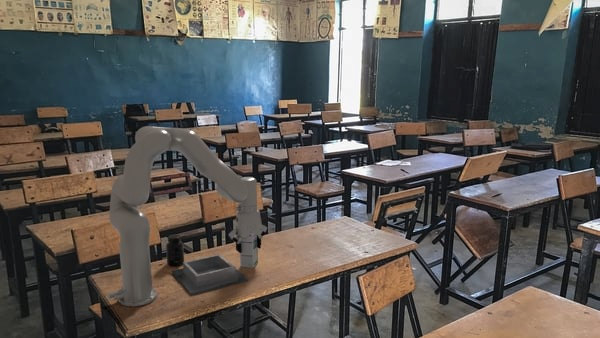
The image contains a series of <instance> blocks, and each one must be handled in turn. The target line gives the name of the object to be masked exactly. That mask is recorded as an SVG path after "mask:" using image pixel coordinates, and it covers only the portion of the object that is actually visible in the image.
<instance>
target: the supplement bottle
mask: <svg viewBox="0 0 600 338" xmlns="http://www.w3.org/2000/svg"><path fill="white" fill-rule="evenodd" d="M165 251H166V264H167V266H168V267H171V268H177V267H181V266H183V262H185V252H184V243H183V242H182V241H181V235H180V234H170V235H168V237H167V242H166V245H165Z"/></svg>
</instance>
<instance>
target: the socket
mask: <svg viewBox="0 0 600 338" xmlns="http://www.w3.org/2000/svg"><path fill="white" fill-rule="evenodd" d="M171 274H172V275H173V276H174V277H175V279H176V280H177V281H178V282H179V283H180V284H181V285H182V287H183V288H184V289H185V290H186V292H187V293H188V294H189V295H190V296H194V295H198V294H203V293H207V292H210V291H213V290H218V289H222V288H224V287H225V288H226V287H229V286H232V285H236V284H240V283H244V282H248V280H249V277H247V276H246V275H245V274H243V273H242V272H241V271H240V270H239V269H237V268H236V266H234V265H233V264H232V263H231V262H230V261H228V260H227V259H226V258H225V257H224V256H223V255H222V254H220V253H219V254H215V255H210V256H205V257H201V258H195V259H191V260H187V261H184V262H183V265H182V268H179V269H173V270H171Z"/></svg>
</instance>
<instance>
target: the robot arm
mask: <svg viewBox="0 0 600 338" xmlns="http://www.w3.org/2000/svg"><path fill="white" fill-rule="evenodd" d="M134 140H135V143H133V145H132V146H131V147H130V149H129V150H128V151H127V154H126V156H125V160H124V167H123V174H121V175H119V176H118V177H117V178H116V179H115V180H114V181H113V183H112V186H111V189H110V202H109V203H110V204H109V214H108V215H109V222H110V225H111V226H112V227H113V228H114V230H116V232H118V233H119V235H120V239H119V259H120V270H121V281H122V285H120V288H119V289H117V291H111V292H108V293H107V295H108V299H109V300H110V299H113V300H114V301H115V300H116V301H117V300H118V303H119V304H120V303H121V304H120V305H122V306H124V307H130V306H131V308H132V307H140V306H145V305H149V304H150V303H152V302H154V301H155V300H156V299H157V297H158V291H157V289H155V288H154V287H153V277H152V264H151V263H152V262H151V253H150V251H151V249H150V235H151V234H150V233H151V223H150V220H149V218H148V217H147V215H146V214H145V213H144V212H142V211H141V210H139V209H138V208H139V207H142V206H143V205H145V204H146V203H147V201H148V200H149V197H150V187H151V176H152V167H153V164H154V162H155V160H156V159H157V158H158V157H160V155H162V154H163V153H165V152H166V151H167V152H168V151H173V152H174V151H176V152H179V153H181V154H182V156H183V157H185V158H186V160H187V161H188V162H189V163H190V164H191V166H193V167H194V168H195V170H196V171H197V172H199V174H201V175H202V176H203V177H205V178H207V179H208V180H210V181H212V182H214V183H215V184H216V193H217V195H219V196H220V197H221V198H223V199H226V200H229V201H231V202H234V203H237V206H236V207H235V208H234V210H235V211H236V216H235V224H234V229H232V230H231V231H230V232H229V233H228V237H229V238H230V239H231V240H232V241H234V243H235V251H236V252H238V253H239V254H240V253H241V252H242V248H241V243H240V242H241V240H242V238H248V237H249V234H250V233H254V236H257V249H258V250H259V249H261V247H262V239H263V237H264V236H265V234H266V232H267V230H268V226H265V225H264V224H262V217H261V212H260V210H259V209H258V183H257V182H258V181H257V179H256V178H255V177H252V176H244V177H240V176H239V175H238V174H237V173H236V172H235V171H234V170H232V168H230V167H229V166H228V165H227V164H226V163H224V162H223V161H222V160H221V159H220V158H218V156H217V155H216V154H215V153H214V152H213V151H212V149H210V148H209V146H208V145H207V144H206V143H205V141H203V139H202V138H201V137H200V136H199V135H198V134H197V132H195V131H194V130H192V129H187V128H181V127H163V126H152V125H151V126H150V125H147V126H146V125H145V126H142V127H140V128H139V129H138V130H137V131H136V132H135V135H134ZM235 235H236V236H235Z"/></svg>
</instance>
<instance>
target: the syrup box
mask: <svg viewBox="0 0 600 338" xmlns="http://www.w3.org/2000/svg"><path fill="white" fill-rule="evenodd" d="M240 243H241V248H242V252H241V253H239V256H240V267H241V268H249V269H252V268H255V267H256V266H257V264H258V263H259V260H258V259H259V255H258V253H259V252H258V251H259V248H257V236H254V233H250V234H249V237H248V238H242V240H241V242H240Z"/></svg>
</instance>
